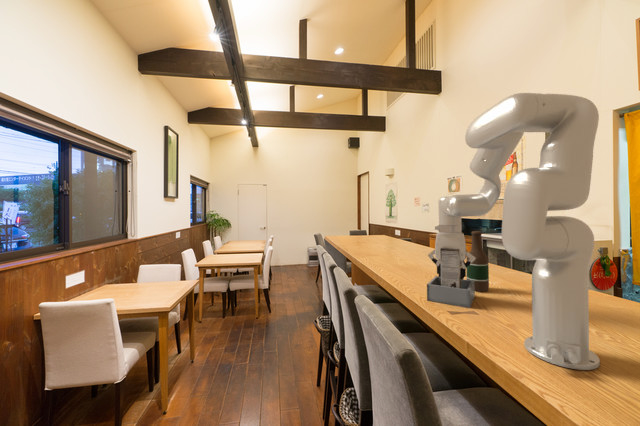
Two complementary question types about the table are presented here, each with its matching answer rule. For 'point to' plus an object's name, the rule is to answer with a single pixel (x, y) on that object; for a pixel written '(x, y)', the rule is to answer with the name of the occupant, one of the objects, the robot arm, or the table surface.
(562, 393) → the table surface
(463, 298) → the bin
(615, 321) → the table surface
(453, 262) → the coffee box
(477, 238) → the beer bottle
